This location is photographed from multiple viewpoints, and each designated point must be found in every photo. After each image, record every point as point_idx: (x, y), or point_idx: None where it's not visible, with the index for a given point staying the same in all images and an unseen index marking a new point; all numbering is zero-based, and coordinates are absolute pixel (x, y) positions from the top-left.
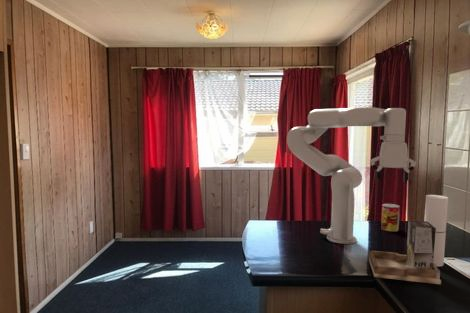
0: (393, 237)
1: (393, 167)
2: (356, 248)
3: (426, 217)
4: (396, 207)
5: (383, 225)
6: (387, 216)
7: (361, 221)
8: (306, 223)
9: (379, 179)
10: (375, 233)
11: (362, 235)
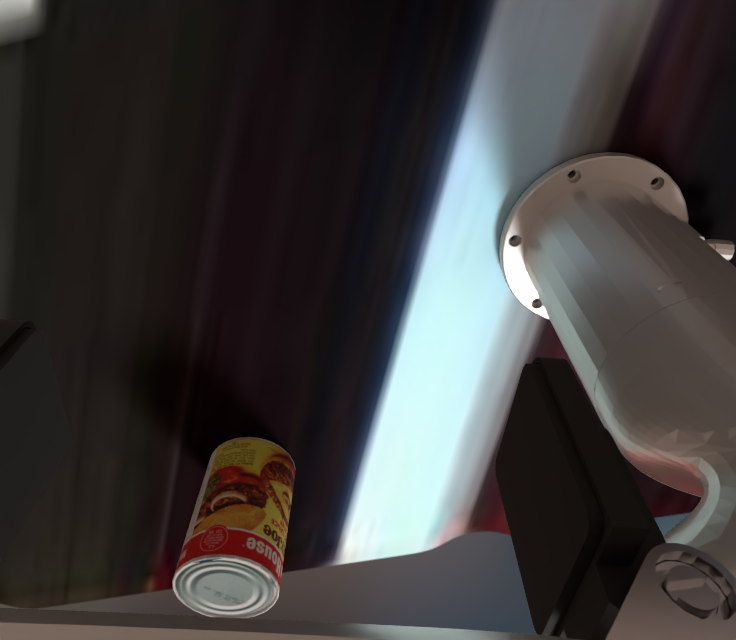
0: (257, 343)
1: (230, 624)
2: (546, 83)
3: None
4: (197, 558)
5: (286, 471)
6: (261, 507)
7: (373, 550)
8: None
9: (564, 376)
10: (345, 390)
11: (430, 343)
